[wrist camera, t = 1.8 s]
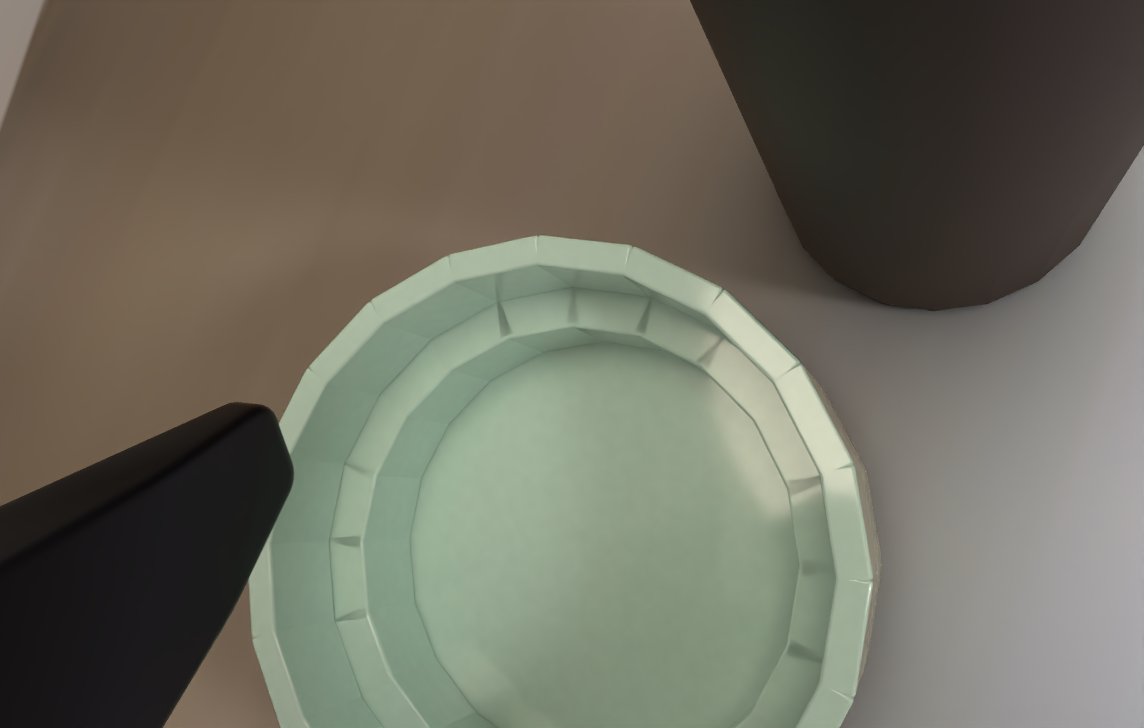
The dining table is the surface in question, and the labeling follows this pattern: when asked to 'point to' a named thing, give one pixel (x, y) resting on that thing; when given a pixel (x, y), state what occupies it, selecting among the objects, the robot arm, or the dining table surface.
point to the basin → (564, 510)
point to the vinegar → (937, 131)
